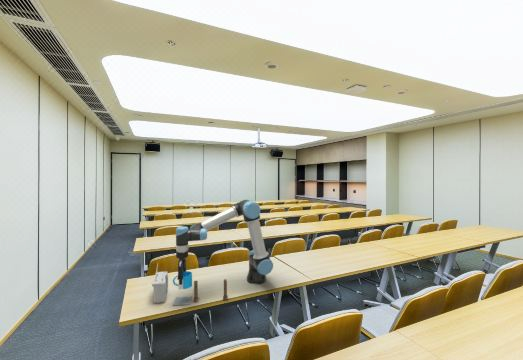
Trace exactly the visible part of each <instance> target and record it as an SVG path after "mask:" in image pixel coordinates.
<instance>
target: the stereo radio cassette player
mask: <svg viewBox="0 0 523 360" xmlns="http://www.w3.org/2000/svg"><path fill="white" fill-rule="evenodd" d="M158 264H159V262H157V266H156V268H158V266H159V265H158ZM151 286H152V287H153V303H154V304H159V303H165V302H166V299H167V293H168V289H169V288H168V287H169V273H168V271H158V269H156V271H155V274H154V277H153V280H152V283H151Z"/></svg>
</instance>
